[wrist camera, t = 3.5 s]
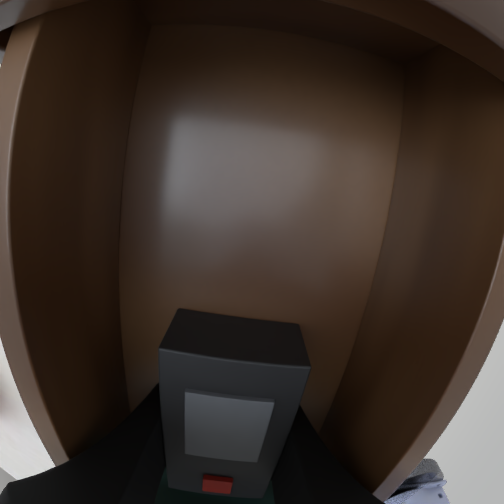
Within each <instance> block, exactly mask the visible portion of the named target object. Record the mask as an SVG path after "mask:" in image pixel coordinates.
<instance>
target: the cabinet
mask: <svg viewBox="0 0 504 504" xmlns="http://www.w3.org/2000/svg"><path fill="white" fill-rule="evenodd" d="M85 1H89V0H0V64H1V63H2V60H3V57H4V53H5V50H6V47H7V44H8V41H9V38H10V36H11V33H12V30H13V28H14V25H15V24H18V23H20V22H23V21H25V20H28V19H30V18H33V17H36V16H39V15H41V14H44V13H47V12H50V11H53V10H56V9H60V8H63V7H66V6H70V5H73V4H77V3H81V2H85ZM320 1H325V2H329V3H333V4H337V5H341V6H344V7H348V8H351V9H355V10H358V11H361V12H364V13H367V14H370V15H373V16H376V17H379V18H382V19H385V20H387V21H390V22H393V23H395V24H398V25H400V26H403V27H405V28H407V29H410V30H412V31H414V32H417V33H419V34H421V35H423V36H425V37H428V38H430V39H432V40H434V41H436V42H438V43H440V44H442V45H444V46H446V47H448V48H449V49H451V50H453V51H455V52H457V53H459V54H460V55H462V56H464V57H466V58H467V59H469V60H471V61H472V62H474V63H476V64H477V65H479V66H480V67H482V68H483V69H485V70H487V71H488V72H490V73H491V74H493V75H494V76H496V77H497V78H498V79H500V80H501V81H503V82H504V0H320Z"/></svg>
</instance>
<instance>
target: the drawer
mask: <svg viewBox="0 0 504 504" xmlns="http://www.w3.org/2000/svg"><path fill="white" fill-rule="evenodd" d="M179 308H180V309H187V310H193V311H199V312H206V313H213V314H220V315H227V316H234V317H242V318H250V319H258V320H266V321H275V322H284V323H294V324H299V326H300V329H301V333H302V336H303V340H304V343H305V346H306V350H307V353H308V357H309V360H310V363H311V367H312V368H311V371H310V375H309V378H308V381H307V384H306V387H305V390H304V393H303V396H302V399H301V402H300V406H301V407H302V409H303V411H304V413H305V414H306V416H307V418H308V419H309V421H310V423H311V424H312V426H313V428H314V429H315V431H316V432H317V434H318V435H319V436H320V438H321V439H322V441H323V442H324V444H325V445H326V446H327V448H328V449H329V450H330V452H331V453H332V454H333V455H334V457H335V458H336V459H337V460H338V462H339V463H340V464H341V465H342V466H343V467H344V468H345V469H346V471H347V472H348V473H349V474H350V475H351V476H352V477H353V478H354V479H355V480H356V481H357V482H359V483H360V484H361V485H362V486H363V487H364V488H365V489H366V490H368V491H369V492H370V493H371V494H373V495H374V496H375V497H377V498H378V499H379V500H381V501H382V502H384V501H385V500H386V499H387V498H388V497H389V496H390V495H391V494H392V493H393V492H394V491H395V490H396V489H397V488H398V487H399V486H400V485H401V484H402V483H403V482H404V480H405V479H406V478H407V477H408V476H409V475H410V474H411V473H412V471H413V470H414V469H415V468H416V467H417V465H418V464H419V463H420V462H421V461H422V459H423V458H424V457H425V456H426V454H427V453H428V452H429V450H430V449H431V448H432V446H433V445H434V444H435V443H436V441H437V440H438V438H439V437H440V436H441V434H442V433H443V431H444V430H445V429H446V427H447V426H448V424H449V423H450V421H451V420H452V418H453V417H454V415H455V414H456V412H457V410H458V409H459V407H460V406H461V404H462V402H463V401H464V399H465V397H466V396H467V394H468V392H469V390H470V389H471V387H472V385H473V383H474V382H475V379H476V378H477V376H478V374H479V372H480V370H481V368H482V366H483V364H484V362H485V360H486V358H487V356H488V354H489V352H490V350H491V348H492V346H493V343H494V341H495V339H496V336H497V334H498V332H499V329H500V327H501V324H502V322H503V319H504V82H503V81H501V80H500V79H498V78H497V77H496V76H494V75H493V74H491V73H490V72H488V71H487V70H485V69H483V68H482V67H480V66H479V65H477V64H476V63H474V62H472V61H471V60H469V59H467V58H466V57H464V56H462V55H460V54H459V53H457V52H455V51H453V50H451V49H449V48H448V47H446V46H444V45H442V44H440V43H438V42H436V41H434V40H432V39H430V38H428V37H425V36H423V35H421V34H419V33H417V32H414V31H412V30H410V29H407V28H405V27H403V26H400V25H398V24H395V23H393V22H390V21H387V20H385V19H382V18H379V17H376V16H373V15H370V14H367V13H364V12H361V11H358V10H355V9H351V8H348V7H344V6H341V5H337V4H333V3H329V2H325V1H320V0H89V1H85V2H81V3H77V4H73V5H70V6H66V7H63V8H60V9H56V10H53V11H50V12H47V13H44V14H41V15H39V16H36V17H33V18H30V19H28V20H25V21H23V22H20V23H18V24H15V25H14V28H13V30H12V33H11V36H10V38H9V41H8V44H7V47H6V50H5V53H4V57H3V60H2V63H1V67H0V337H1V340H2V344H3V347H4V351H5V354H6V357H7V360H8V363H9V366H10V369H11V372H12V375H13V378H14V381H15V383H16V386H17V388H18V391H19V393H20V396H21V398H22V401H23V403H24V405H25V408H26V410H27V412H28V415H29V417H30V419H31V421H32V423H33V425H34V427H35V429H36V431H37V433H38V435H39V437H40V439H41V441H42V443H43V445H44V447H45V448H46V450H47V452H48V454H49V456H50V457H51V459H52V461H53V462H54V464H55V466H58V465H61V464H63V463H65V462H67V461H68V460H70V459H72V458H74V457H76V456H77V455H79V454H80V453H82V452H84V451H85V450H87V449H88V448H90V447H91V446H93V445H94V444H96V443H97V442H98V441H100V440H101V439H102V438H104V437H105V436H106V435H107V434H109V433H110V432H111V431H112V430H113V429H114V428H116V427H117V426H118V425H119V424H120V423H121V422H122V421H123V420H124V419H126V418H127V417H128V416H129V414H130V413H131V412H132V411H133V410H134V409H135V408H136V407H137V406H138V405H139V404H140V403H141V402H142V401H143V400H144V399H145V398H146V396H147V395H148V394H149V393H150V392H151V390H152V389H153V388H154V387H155V385H156V384H157V383H159V370H158V347H159V345H160V343H161V341H162V339H163V337H164V335H165V333H166V331H167V329H168V327H169V325H170V323H171V321H172V319H173V317H174V315H175V313H176V311H177V309H179ZM154 504H275V502H274V494H273V487H272V479H271V480H270V483H269V485H268V487H267V490H266V492H265V494H264V497H263V498H242V497H229V496H220V495H211V494H204V493H197V492H190V491H185V490H179V489H174V488H170V487H169V486H168V479H167V472H166V467H165V470H164V473H163V476H162V479H161V482H160V485H159V488H158V491H157V495H156V498H155V503H154Z"/></svg>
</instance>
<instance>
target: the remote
mask: <svg viewBox="0 0 504 504" xmlns="http://www.w3.org/2000/svg"><path fill="white" fill-rule="evenodd" d="M311 368H312V367H311V363H310V360H309V357H308V353H307V350H306V346H305V343H304V340H303V336H302V333H301V329H300V326H299V324H294V323H284V322H275V321H266V320H258V319H250V318H242V317H234V316H227V315H220V314H213V313H206V312H199V311H193V310H187V309H180V308H179V309H177V311H176V313H175V315H174V317H173V319H172V321H171V323H170V325H169V327H168V329H167V331H166V333H165V335H164V337H163V339H162V341H161V343H160V345H159V347H158V370H159V393H160V410H161V423H162V435H163V446H164V455H165V464H166V472H167V479H168V486H169V487H170V488H174V489H179V490H185V491H190V492H197V493H204V494H211V495H220V496H229V497H242V498H263V497H264V494H265V492H266V490H267V487H268V485H269V483H270V480H271V478H272V476H273V473H274V471H275V469H276V466H277V464H278V461H279V459H280V456H281V454H282V451H283V449H284V446H285V443H286V441H287V438H288V435H289V433H290V430H291V427H292V425H293V422H294V419H295V416H296V413H297V411H298V408H299V405H300V402H301V399H302V396H303V393H304V390H305V387H306V384H307V381H308V378H309V375H310V371H311Z"/></svg>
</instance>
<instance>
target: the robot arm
mask: <svg viewBox="0 0 504 504" xmlns="http://www.w3.org/2000/svg"><path fill="white" fill-rule="evenodd" d="M165 467H166V464H165V455H164V446H163V435H162V423H161V410H160V393H159V383H157V384H156V385H155V387H154V388H153V389H152V390H151V392H150V393H149V394H148V395H147V396H146V398H145V399H144V400H143V401H142V402H141V403H140V404H139V405H138V406H137V407H136V408H135V409H134V410H133V411H132V412H131V413H130V414H129V416H128V417H127V418H126V419H124V420H123V421H122V422H121V423H120V424H119V425H118V426H117V427H116V428H114V429H113V430H112V431H111V432H110V433H109V434H107V435H106V436H105V437H104V438H102V439H101V440H100V441H98V442H97V443H96V444H94V445H93V446H91V447H90V448H88V449H87V450H85V451H84V452H82V453H80V454H79V455H77V456H76V457H74V458H72V459H70V460H68V461H67V462H65V463H63V464H61V465H58V466H56V467H54V468H52V469H49V470H47V471H45V472H42V473H40V474H37V475H34V476H31V477H28V478H24V479H21V480H17V481H14V482H9V483H8V484H7V486H6V487H5V488H4V489H3V491H2V493H1V495H0V504H154V503H155V498H156V495H157V491H158V488H159V485H160V482H161V479H162V476H163V473H164V470H165ZM271 479H272V487H273V494H274V502H275V504H450V503H449V500H448V498H447V496H446V494H445V492H444V490H443V488H442V486H443V485H445V484H446V483H447V481H446V480H441V481H435V482H428V483H420V484H411V485H400V486H399V487H398V488H397V489H396V490H395V491H394V492H393V493H392V494H391V495H390V496H389V497H388V498H387V499H386V500H385V501H384V502H382V501H381V500H379V499H378V498H377V497H375V496H374V495H373V494H371V493H370V492H369V491H368V490H366V489H365V488H364V487H363V486H362V485H361V484H360V483H359V482H357V481H356V480H355V479H354V478H353V477H352V476H351V475H350V474H349V473H348V472H347V471H346V469H345V468H344V467H343V466H342V465H341V464H340V463H339V462H338V460H337V459H336V458H335V457H334V455H333V454H332V453H331V452H330V450H329V449H328V448H327V446H326V445H325V444H324V442H323V441H322V439H321V438H320V436H319V435H318V434H317V432H316V431H315V429H314V428H313V426H312V424H311V423H310V421H309V419H308V418H307V416H306V414H305V413H304V411H303V409H302V407H301V406H300V405H299V408H298V411H297V413H296V416H295V419H294V422H293V425H292V427H291V430H290V433H289V435H288V438H287V441H286V443H285V446H284V449H283V451H282V454H281V456H280V459H279V461H278V464H277V466H276V469H275V471H274V473H273V476H272V478H271Z"/></svg>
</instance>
